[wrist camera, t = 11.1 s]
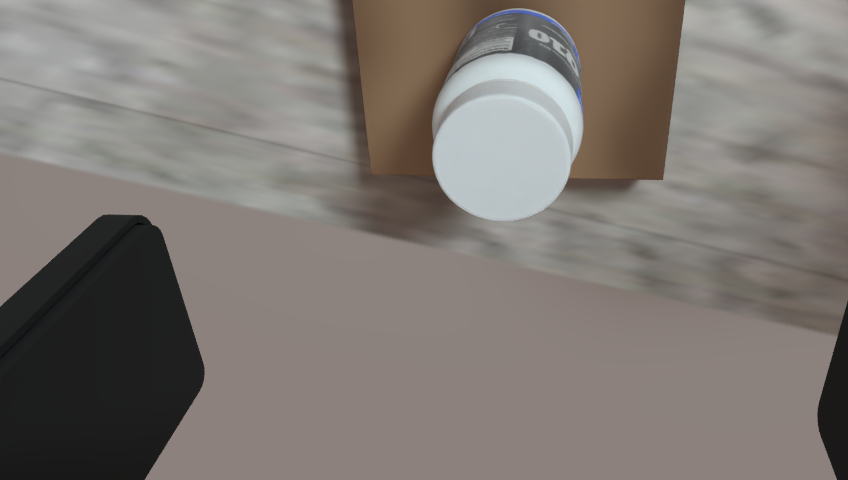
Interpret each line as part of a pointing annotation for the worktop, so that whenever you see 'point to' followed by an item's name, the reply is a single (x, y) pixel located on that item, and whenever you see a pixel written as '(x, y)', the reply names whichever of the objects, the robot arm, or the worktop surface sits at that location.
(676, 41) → the walnut block
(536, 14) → the pill bottle
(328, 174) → the worktop surface
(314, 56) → the worktop surface
